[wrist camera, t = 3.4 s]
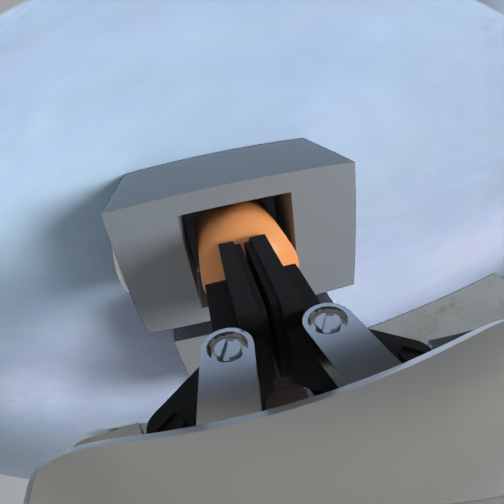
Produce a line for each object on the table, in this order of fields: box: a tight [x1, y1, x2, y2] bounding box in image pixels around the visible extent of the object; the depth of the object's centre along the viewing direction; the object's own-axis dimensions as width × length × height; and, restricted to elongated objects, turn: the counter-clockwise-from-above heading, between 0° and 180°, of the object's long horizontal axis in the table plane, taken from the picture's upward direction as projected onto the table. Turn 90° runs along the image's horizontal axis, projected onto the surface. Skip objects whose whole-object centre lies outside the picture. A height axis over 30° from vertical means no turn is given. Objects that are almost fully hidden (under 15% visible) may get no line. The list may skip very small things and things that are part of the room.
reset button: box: [195, 199, 299, 293], centre depth 13 cm, size 4×4×4 cm
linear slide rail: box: [101, 138, 356, 334], centre depth 21 cm, size 10×29×6 cm, turn 8°
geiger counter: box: [369, 273, 504, 344], centre depth 21 cm, size 14×6×25 cm
